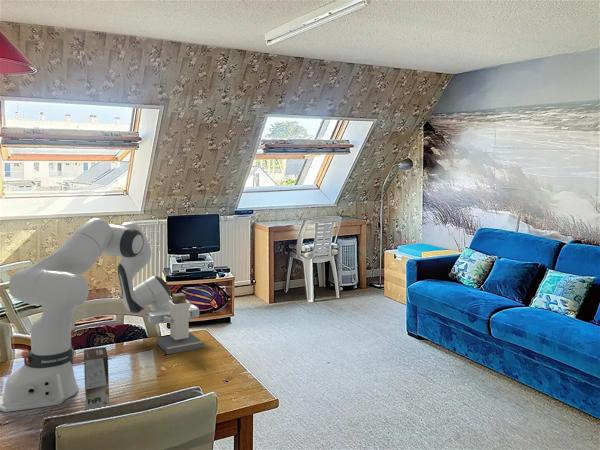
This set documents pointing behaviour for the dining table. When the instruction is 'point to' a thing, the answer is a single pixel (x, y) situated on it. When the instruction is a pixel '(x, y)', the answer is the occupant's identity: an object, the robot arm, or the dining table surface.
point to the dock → (179, 344)
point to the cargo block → (178, 298)
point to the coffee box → (96, 378)
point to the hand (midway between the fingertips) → (180, 319)
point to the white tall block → (179, 320)
